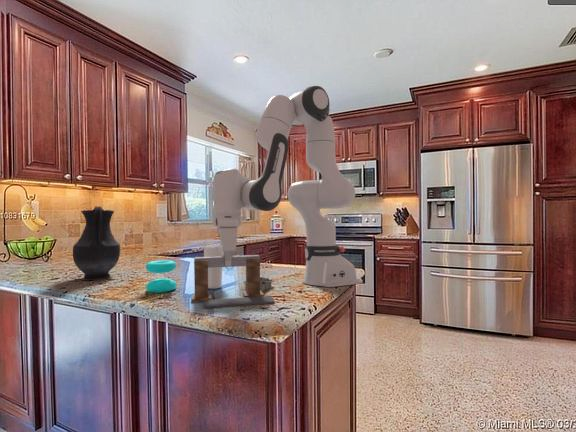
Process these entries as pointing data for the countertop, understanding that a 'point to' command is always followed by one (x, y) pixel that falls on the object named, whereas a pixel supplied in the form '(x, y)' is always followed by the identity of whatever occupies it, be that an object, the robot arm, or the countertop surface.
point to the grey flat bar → (238, 302)
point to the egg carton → (263, 283)
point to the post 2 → (253, 278)
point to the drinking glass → (214, 272)
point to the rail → (220, 260)
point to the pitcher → (96, 245)
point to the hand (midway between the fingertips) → (227, 264)
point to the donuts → (161, 284)
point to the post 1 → (201, 282)
